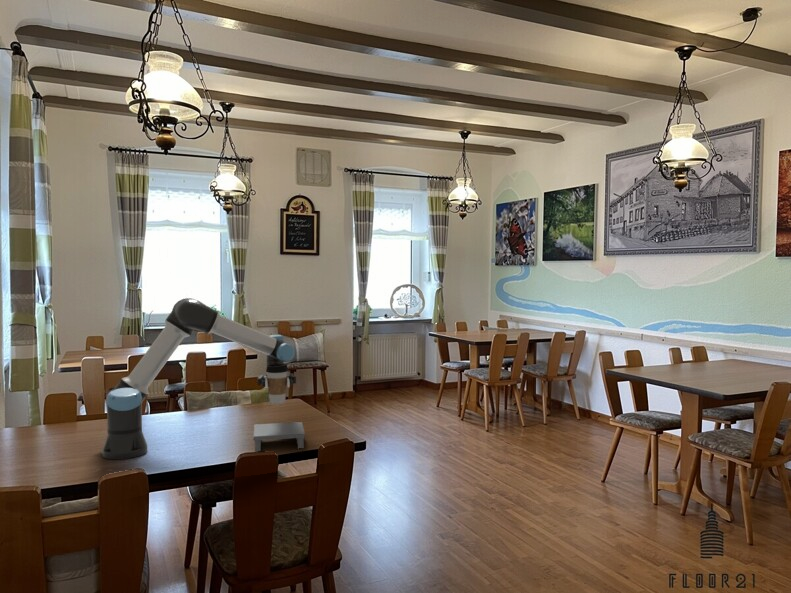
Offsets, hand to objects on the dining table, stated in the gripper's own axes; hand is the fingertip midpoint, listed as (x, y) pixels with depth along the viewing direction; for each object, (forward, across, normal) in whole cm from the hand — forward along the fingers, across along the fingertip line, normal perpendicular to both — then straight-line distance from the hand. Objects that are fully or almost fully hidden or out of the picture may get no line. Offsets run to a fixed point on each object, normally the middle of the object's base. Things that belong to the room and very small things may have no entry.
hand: (277, 384), depth 222 cm
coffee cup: (-5, 0, -8) cm, 10 cm away
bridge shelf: (-5, 0, -24) cm, 25 cm away
